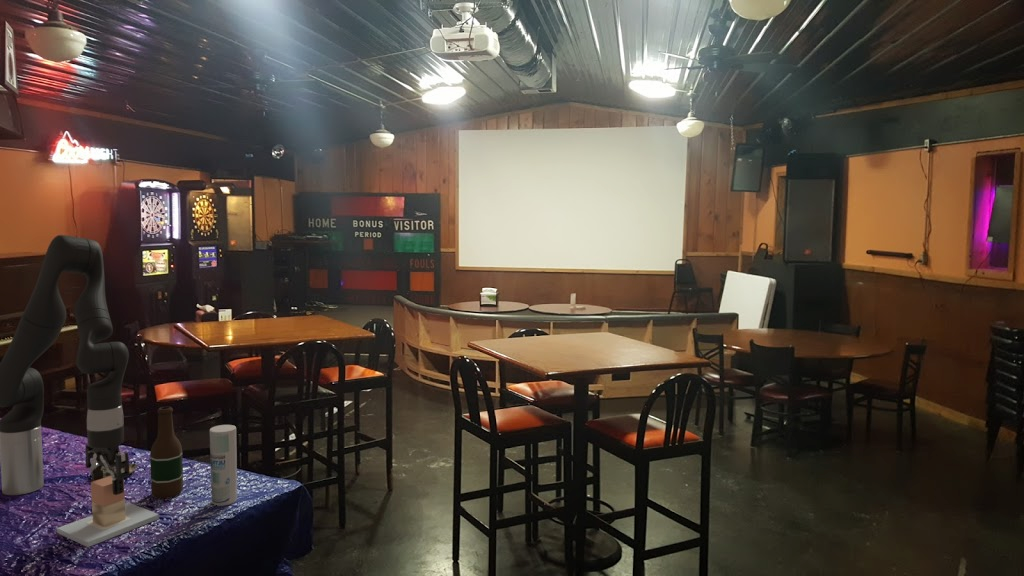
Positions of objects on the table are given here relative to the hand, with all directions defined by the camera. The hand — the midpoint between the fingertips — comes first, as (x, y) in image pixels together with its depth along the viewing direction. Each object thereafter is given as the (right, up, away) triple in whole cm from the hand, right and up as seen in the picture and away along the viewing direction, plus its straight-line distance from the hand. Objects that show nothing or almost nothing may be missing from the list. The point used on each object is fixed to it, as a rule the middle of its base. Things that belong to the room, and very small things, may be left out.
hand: (108, 489), depth 160 cm
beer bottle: (+4, -7, +20) cm, 22 cm away
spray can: (+21, -8, +17) cm, 28 cm away
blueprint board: (0, -9, +1) cm, 9 cm away
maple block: (0, -8, +1) cm, 8 cm away
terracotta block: (0, -3, 0) cm, 3 cm away
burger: (-18, -6, +33) cm, 38 cm away
